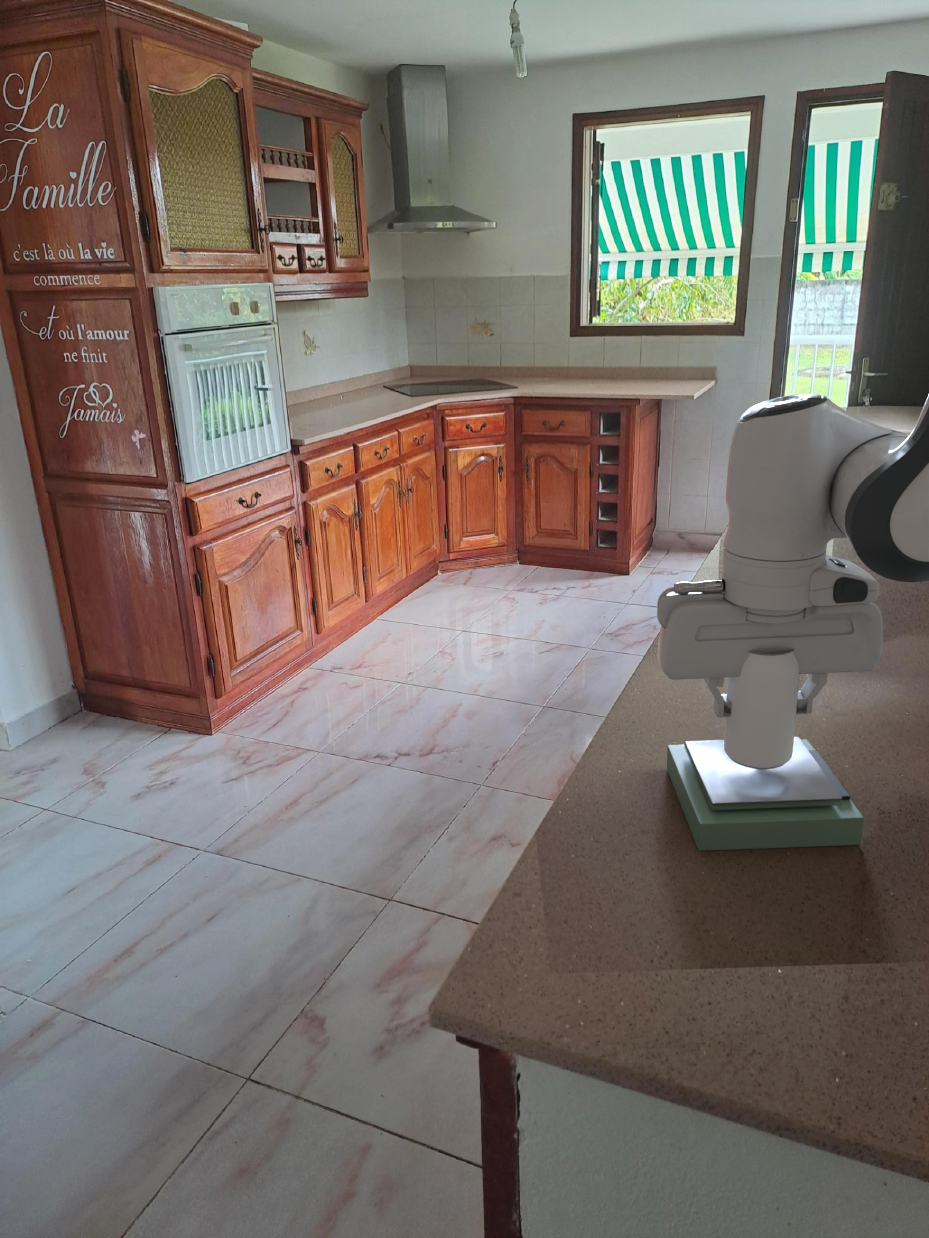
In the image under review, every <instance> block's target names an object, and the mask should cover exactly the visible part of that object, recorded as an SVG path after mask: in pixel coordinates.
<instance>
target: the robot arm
mask: <svg viewBox="0 0 929 1238" xmlns="http://www.w3.org/2000/svg"><path fill="white" fill-rule="evenodd" d="M727 463H728V465H727V475H726V486H725V487H726V489H725V503H726V507H727V511H728V517H729V518H728V519H729V520H728V527H727V531H726V534H725V536H724V540H723V548H722V549H723V550H722V565H721V566H722V568H721V569H722V570H721V571H722V572H721V579H715V580H714V579H713V580H702V581H695V582H689V581H679V582H674V584H673V586H671V587H667V588H666V589H665V590H663V591H662V592H661V593H660V595H659V597H658V599H657V603H656V605H657V607H656V608H657V609H656V617H657V621H658V624H659V625H660V630H659V635H658V641H657V642H658V643H657V651H656V652H657V655H656V656H657V657H656V658H657V663H658V666H659V668H660V670H661V671H662V672H663V674H664V675H665V676H666V677H667V678H668V679H670V680H675V681H676V680H677V681H678V680H679V681H680V680H701V679H703V680H704V682H705V684H706V685H707V687H708V689H709V690H710V692H711V694H712V696H713V699H714V700H713V711H714V714H715V716H716V718H717V719H718V718H719V719H720V718H725V717H730V716H731V706H732V702H731V701H730V700H729V699H728V697H727V693H721V692H720V690H719V688H722V687H724V683H725V678H726V679H727V678H728V677H739V676H740V675H741V672H742V666H743V664H744V663H745V661H746V660H747V659H748V657H749V654H750V653H749V652H748V651H752V652H757V653H764V654H768V653H784V652H788V651H791V650H793V649H795V650H794V651H793V654H794V657H795V658H796V660H797V662H798V664H799V675H806V676H807V679H806V680H805V682H804V684H803V685H802V686H801V688H800V689H799V690H798V698H797V710H796V715H807V714H809V715H810V714H812V711H813V705H814V704H813V703H814V699H815V698H817V696H818V694H819V693H820V692H821V691H822V689H823V688H824V687H825V686H826V685H827V683H828V675H829V674H835V673H836V674H837V673H838V674H839V673H859V672H861V673H863V672H870V671H872V670H874V668H875V667H876V666H877V665H878V664H879V663H880V662H881V658H882V654H883V643H884V642H883V640H884V639H883V638H884V631H883V630H884V626H883V616H882V612H881V610H880V608H879V607H878V605H876V604H875V603H874V602H875V601H877V599H878V598H879V594H880V590H881V589H880V587H881V586H880V582H879V581H878V580H877V579H876V578H875V577H873V575H871V574H870V573H869V572H868V571H866V570H865V569H864V568H862V567H861V566H859V565H858V564H855V563H854V562H852V561H850V560H847V559H844V558H841V557H835V556H832V555H828V554H827V548H828V543H830V541H832V540H834V539H848V540H849V542H850V544H851V546H852V548H853V549H854V551H855V553H856V555H857V557H858V558H859V560H860V561H861V562H862V563H863V564H864V565H865V566H866V568H868V569H869V570H870V571H872V572H874V573H875V574H876V575H878V576H880V577H883V578H885V579H888V580H891V581H895V582H901V583H923V582H929V394H928V396H927V398H926V400H925V402H924V404H923V407H922V410H921V412H920V415H919V416H918V419H917V421H916V423H915V426H914V428H913V430H912V431H911V433H910V434H908V433H906V432H903V431H900V430H895V429H892V428H888V427H884V426H881V425H878V424H875V423H873V422H871V421H869V420H865V419H863V418H861V417H859V416H857V415H855V414H853V413H851V412H849V411H847V410H845V409H843V408H842V407H840V406H839V405H837V404H836V403H834V402H833V400H831V399H830V398H829V397H828V396H826V395H822V394H817V393H803V394H791V395H785V396H780V397H776V398H771V399H767V400H764V401H762V402H760V403H757V404H755V405H752V406H751V407H749V408H748V409H747V410H746V411H745V412H744V413H743V414H742V415H741V416H740V417H739V419H738V421H737V422H736V425H735V427H734V430H733V434H732V439H731V444H730V449H729V456H728V462H727Z"/></svg>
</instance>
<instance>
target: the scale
mask: <svg viewBox="0 0 929 1238" xmlns="http://www.w3.org/2000/svg"><path fill="white" fill-rule="evenodd" d="M801 741H802V742H803V744H804V745H805V746H806V748H807V749H808V751H809V752H810V753H811V755H812V756H813V758H814V759H815V760H816V762H817V763H818V765H819V766H820V768H821V769H822V770H823V772H824V773H825V775H826V776H827V777H828V779H829V780H830V782H831V783H832V784H833V786H834V787H835V789H836V790H837V791H838V793H839V794H840V796H841V797H842V805H836V806H810V807H784V808H758V809H733V810H712V808H711V806H710V804H709V802H708V799H707V797H706V795H705V793H704V790H703V788H702V786H701V784H700V781H699V779H698V777H697V775H696V772H695V770H694V768H693V766H692V763H691V761H690V759H689V757H688V754H687V752H686V750H685V744H667V746H666V747H667V751H666V754H667V755H666V771H667V773H668V775H669V776H668V777H669V779H670V781H671V783H672V786H673V789H674V791H675V793H676V796H677V799H678V802H679V804H680V806H681V809H682V812H683V814H684V817H685V819H686V822H687V825H688V827H689V830H690V832H691V834H692V839H693V840H694V842H695V845H696V848H697V850H698V852H705V851H706V852H707V851H730V850H731V851H732V850H734V851H735V850H736V851H737V850H759V849H784V848H785V849H787V848H811V847H814V848H815V847H837V846H838V847H839V846H840V847H841V846H842V847H843V846H861V844H862V836H863V829H864V827H863V826H864V816H863V814H862V813H861V812H860V810H859V809H858V808H857V806H856V805H855V804H854V802H853V801H852V799H851V795H850V793H849V792H848V791H847V789H846V788H845V787H844V785H843V784H842V782H840V780H839V779H838V777H837V776H836V774H835V773H834V771H833V770H832V768H831V767H830V766H829V765H828V763H827V762H826V760H825V759H824V758H823V756H822V755H821V754H820V752H819V751H818V750H817V749H815V748H814V747H813V746H812V744H811V742H810V741H809V740H808V739H801Z"/></svg>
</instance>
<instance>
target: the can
mask: <svg viewBox="0 0 929 1238" xmlns="http://www.w3.org/2000/svg"><path fill="white" fill-rule="evenodd" d="M794 650H795V649H793V650H791V651H788V652H784V653H768V654H764V653H757V652H752V651H748V652H749V653H750V654H749V657H748V659H747V660H746V661H745V663H744V664H743V666H742V672H741V675H740V676H739V677H727V681H726V682H727V683H726V686H727V687H726V694H727V697H728V699H729V700H730V701H731V702H732V706H731V716H730V717H724V736H723V740H724V751H725V753H726V754H727V755H728V756H729V758H730V759H731V760H732V761H734V762H735V763H737V764H739V765H742V766H745V767H748V768H753V769H773V768H778V767H781V766H783V765H785V764H786V763H787V762H788V761H789V760H790V759H791V757H792V752H793V743H794V737H795V731H796V730H795V729H796V722H797V721H796V720H797V714H796V710H797V698H798V691H799V687H800V686H799V685H800V674H799V664H798V662H797V660H796V658H795V657H794V654H793V651H794Z"/></svg>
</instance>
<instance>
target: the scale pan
mask: <svg viewBox="0 0 929 1238" xmlns="http://www.w3.org/2000/svg"><path fill="white" fill-rule="evenodd" d="M801 740H802V739H801V738H800V737H799V736H794V743H793V752H792V757H791V759H790V760H789V761H788V762H787V763H786V764H785V765H783V766H781V767H778V768H773V769H753V768H748V767H745V766H742V765H739V764H737V763H735V762H734V761H732V760H731V759H730V758H729V756H728V755H727V754H726V753H725V751H724V739H713V740H710V739H709V740H689V741H688V740H687V741H686V740H685V741H684V745H685V750H686V752H687V754H688V757H689V759H690V761H691V763H692V766H693V768H694V770H695V772H696V775H697V777H698V779H699V781H700V784H701V786H702V788H703V790H704V793H705V795H706V797H707V799H708V802H709V804H710V806H711V808H712V810H733V809H758V808H784V807H810V806H836V805H842V797H841V796H840V794H839V793H838V791H837V790H836V789H835V787H834V786H833V784H832V783H831V782H830V780H829V779H828V777H827V776H826V775H825V773H824V772H823V770H822V769H821V768H820V766H819V765H818V763H817V762H816V760H815V759H814V758H813V756H812V755H811V753H810V752H809V751H808V749H807V748H806V746H805V745H804V744H803V742H802V741H801Z"/></svg>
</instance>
